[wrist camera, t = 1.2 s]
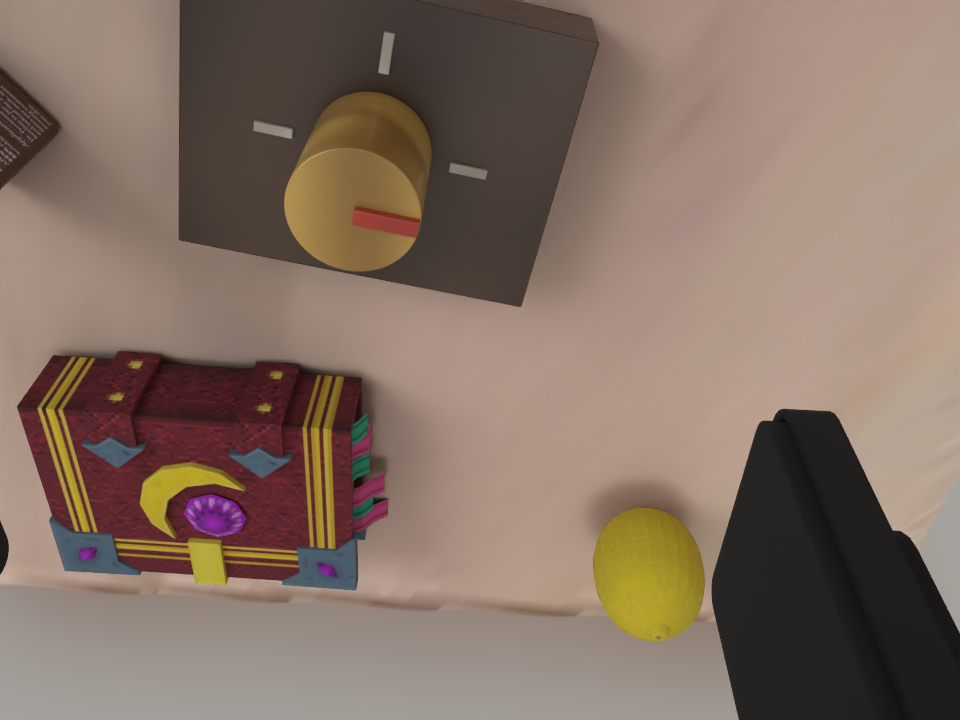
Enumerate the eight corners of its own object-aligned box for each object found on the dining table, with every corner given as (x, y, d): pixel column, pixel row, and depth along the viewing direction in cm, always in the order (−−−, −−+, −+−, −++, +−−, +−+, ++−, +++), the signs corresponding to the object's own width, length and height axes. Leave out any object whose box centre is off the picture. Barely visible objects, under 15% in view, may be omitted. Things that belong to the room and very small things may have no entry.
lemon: (626, 462, 45) (647, 586, 38) (710, 500, 46) (743, 626, 40) (567, 524, 47) (577, 649, 41) (648, 558, 49) (670, 684, 43)
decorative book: (52, 343, 41) (3, 411, 37) (390, 368, 41) (377, 438, 37) (98, 508, 48) (61, 580, 44) (387, 528, 48) (376, 601, 44)
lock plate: (199, 206, 36) (177, 242, 34) (205, -74, 30) (178, -54, 27) (520, 270, 38) (521, 310, 35) (592, 18, 31) (599, 44, 29)
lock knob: (306, 191, 32) (276, 262, 28) (318, 78, 30) (287, 138, 26) (420, 214, 33) (408, 288, 29) (442, 105, 30) (432, 168, 26)
